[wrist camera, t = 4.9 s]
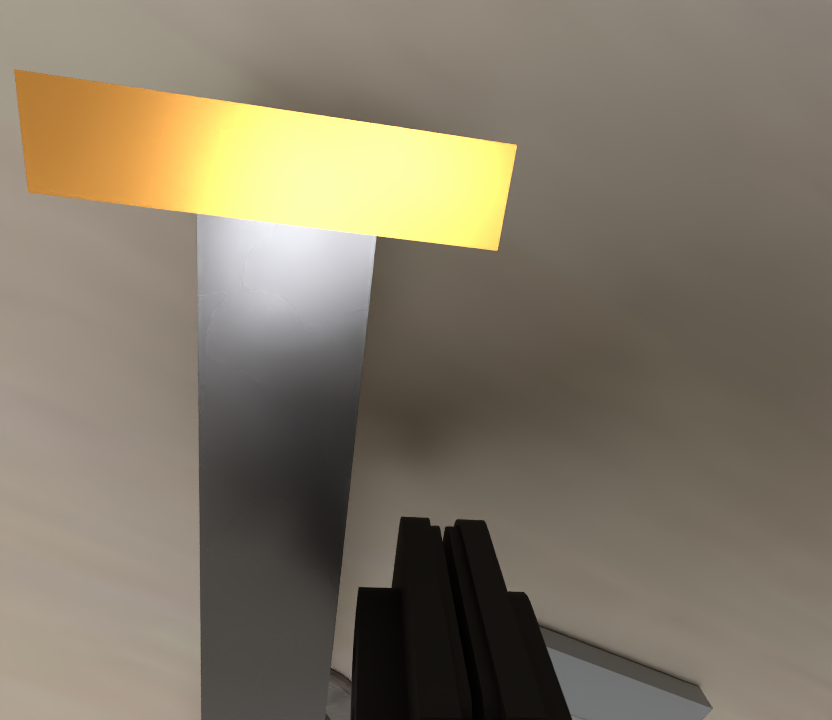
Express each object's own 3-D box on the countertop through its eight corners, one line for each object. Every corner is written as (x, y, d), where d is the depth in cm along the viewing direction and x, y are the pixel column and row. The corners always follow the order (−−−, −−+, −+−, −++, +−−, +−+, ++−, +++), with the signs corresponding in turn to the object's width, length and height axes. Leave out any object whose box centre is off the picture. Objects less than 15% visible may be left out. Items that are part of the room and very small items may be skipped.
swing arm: (360, 769, 15) (357, 1007, 11) (193, 769, 14) (122, 1021, 10) (451, 149, 9) (517, 145, 5) (183, 110, 9) (14, 69, 4)
